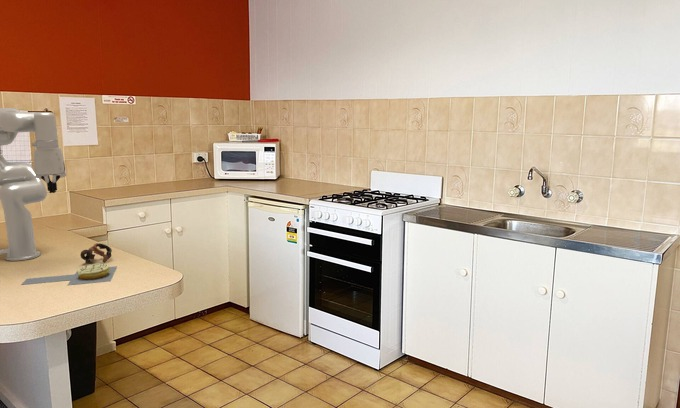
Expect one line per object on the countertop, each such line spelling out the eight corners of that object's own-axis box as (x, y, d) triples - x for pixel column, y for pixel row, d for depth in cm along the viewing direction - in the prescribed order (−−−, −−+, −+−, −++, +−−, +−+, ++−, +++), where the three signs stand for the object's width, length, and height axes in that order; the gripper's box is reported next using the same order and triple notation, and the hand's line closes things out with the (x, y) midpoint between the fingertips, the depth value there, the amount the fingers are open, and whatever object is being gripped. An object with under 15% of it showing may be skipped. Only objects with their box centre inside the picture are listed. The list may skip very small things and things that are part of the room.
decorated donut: (81, 273, 198) (80, 263, 198) (111, 270, 201) (110, 261, 200) (75, 281, 188) (74, 271, 188) (107, 278, 191) (106, 268, 190)
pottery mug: (97, 258, 221) (106, 241, 220) (110, 271, 217) (118, 254, 216) (71, 258, 211) (80, 240, 209) (84, 271, 206) (92, 253, 205)
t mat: (15, 290, 180) (15, 290, 180) (31, 274, 198) (31, 273, 198) (110, 281, 189) (110, 280, 189) (117, 266, 207) (117, 266, 207)
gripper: (22, 146, 197) (28, 195, 200) (66, 145, 201) (71, 192, 204) (28, 145, 204) (33, 192, 207) (70, 144, 208) (75, 190, 211)
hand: (52, 192), depth 206 cm, fingers closed
